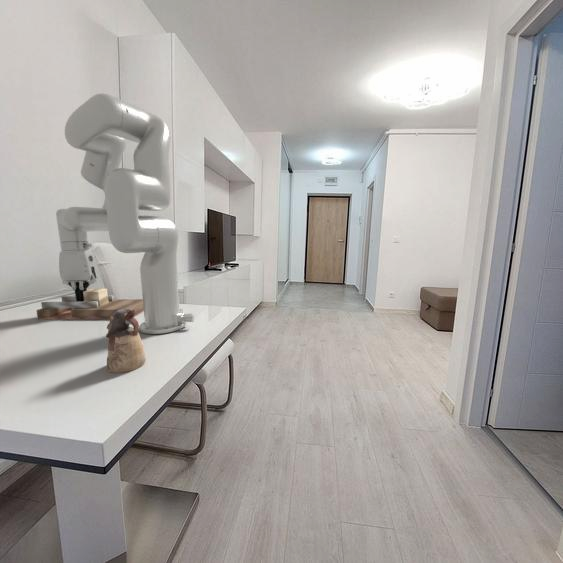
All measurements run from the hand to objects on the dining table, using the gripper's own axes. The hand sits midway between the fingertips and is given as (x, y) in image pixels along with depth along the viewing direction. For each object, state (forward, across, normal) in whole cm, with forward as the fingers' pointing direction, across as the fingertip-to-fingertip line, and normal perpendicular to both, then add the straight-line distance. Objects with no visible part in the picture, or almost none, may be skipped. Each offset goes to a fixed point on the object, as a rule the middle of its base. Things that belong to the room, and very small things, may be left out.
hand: (82, 300), depth 98 cm
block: (+1, -5, 0) cm, 5 cm away
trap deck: (+4, -5, 0) cm, 7 cm away
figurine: (+5, -36, +40) cm, 54 cm away
